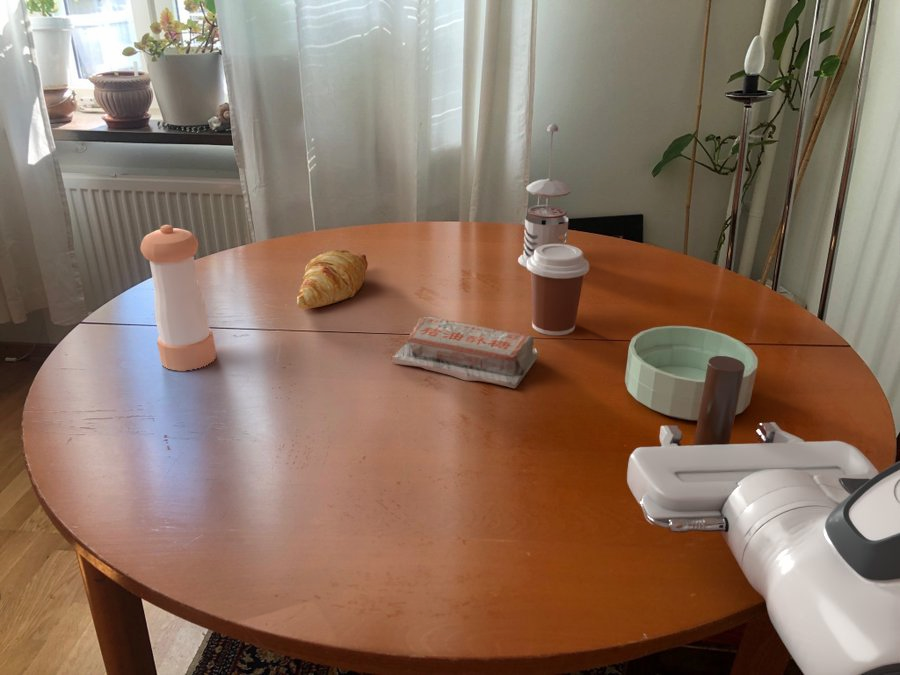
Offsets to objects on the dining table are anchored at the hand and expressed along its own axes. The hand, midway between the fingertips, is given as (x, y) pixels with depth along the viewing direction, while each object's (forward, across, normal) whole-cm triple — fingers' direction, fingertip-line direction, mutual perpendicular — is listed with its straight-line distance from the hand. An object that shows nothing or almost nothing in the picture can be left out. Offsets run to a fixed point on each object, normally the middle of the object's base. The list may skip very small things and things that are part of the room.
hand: (715, 429), depth 71 cm
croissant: (+58, -42, -9) cm, 72 cm away
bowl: (+22, +6, -9) cm, 24 cm away
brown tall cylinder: (0, 0, -9) cm, 9 cm away
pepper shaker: (+35, -60, -9) cm, 70 cm away
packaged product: (+32, -22, -9) cm, 39 cm away
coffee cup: (+43, -7, -9) cm, 44 cm away
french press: (+72, -4, -9) cm, 73 cm away
